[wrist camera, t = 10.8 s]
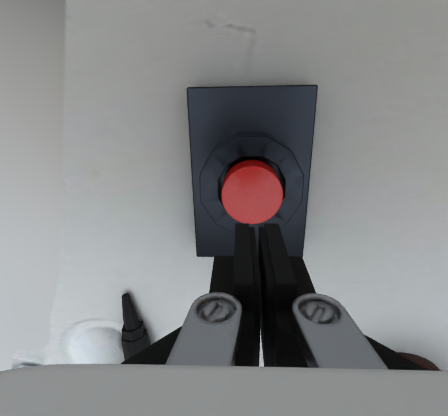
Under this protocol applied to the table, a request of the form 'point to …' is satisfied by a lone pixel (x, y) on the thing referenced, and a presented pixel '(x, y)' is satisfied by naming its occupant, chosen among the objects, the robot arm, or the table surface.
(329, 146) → the table surface
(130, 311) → the microphone
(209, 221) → the button box
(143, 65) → the table surface
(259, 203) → the button
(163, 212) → the table surface
